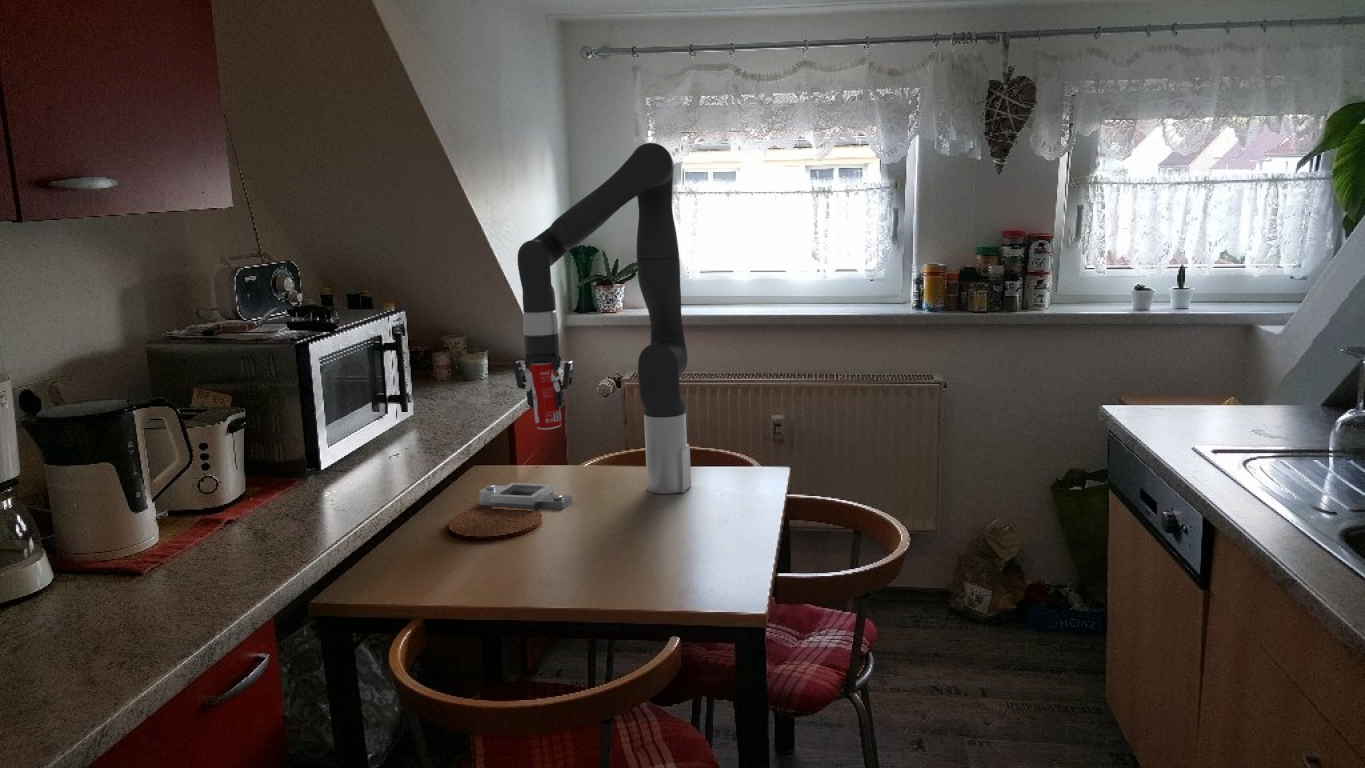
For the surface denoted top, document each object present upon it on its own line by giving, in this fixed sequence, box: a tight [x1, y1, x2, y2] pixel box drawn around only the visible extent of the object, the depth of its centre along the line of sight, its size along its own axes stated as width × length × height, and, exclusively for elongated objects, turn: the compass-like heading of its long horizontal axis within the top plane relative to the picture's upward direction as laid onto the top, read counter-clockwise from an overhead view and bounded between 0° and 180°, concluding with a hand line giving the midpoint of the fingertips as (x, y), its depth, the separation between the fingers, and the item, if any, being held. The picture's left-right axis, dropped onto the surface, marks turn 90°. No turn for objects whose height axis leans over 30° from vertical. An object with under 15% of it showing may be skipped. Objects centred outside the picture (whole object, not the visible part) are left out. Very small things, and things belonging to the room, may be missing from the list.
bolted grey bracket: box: [478, 482, 573, 511], centre depth 211 cm, size 20×10×4 cm, turn 73°
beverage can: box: [529, 363, 562, 431], centre depth 215 cm, size 6×6×15 cm
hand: (546, 407), depth 216 cm, fingers closed on beverage can, 5 cm apart
